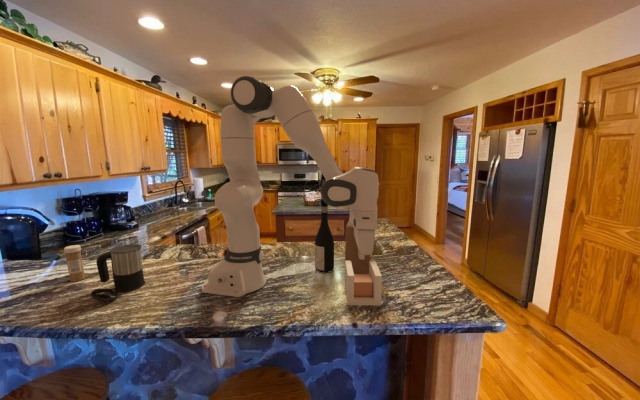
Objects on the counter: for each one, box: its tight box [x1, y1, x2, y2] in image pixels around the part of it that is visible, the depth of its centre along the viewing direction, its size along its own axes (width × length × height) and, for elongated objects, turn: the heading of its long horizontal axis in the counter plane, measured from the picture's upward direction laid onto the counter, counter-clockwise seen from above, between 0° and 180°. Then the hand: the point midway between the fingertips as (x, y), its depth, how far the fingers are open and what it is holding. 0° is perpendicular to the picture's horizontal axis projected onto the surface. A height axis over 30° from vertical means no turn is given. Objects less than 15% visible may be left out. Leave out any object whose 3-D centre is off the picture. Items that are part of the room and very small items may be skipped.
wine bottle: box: [314, 198, 335, 274], centre depth 106 cm, size 8×8×30 cm
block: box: [354, 274, 372, 298], centre depth 88 cm, size 6×6×6 cm
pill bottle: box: [63, 244, 86, 283], centre depth 100 cm, size 5×5×13 cm
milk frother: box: [90, 243, 146, 303], centre depth 91 cm, size 14×16×15 cm
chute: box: [344, 260, 383, 306], centre depth 88 cm, size 11×12×10 cm
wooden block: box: [344, 220, 372, 274], centre depth 107 cm, size 10×10×20 cm
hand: (361, 257), depth 87 cm, fingers closed
